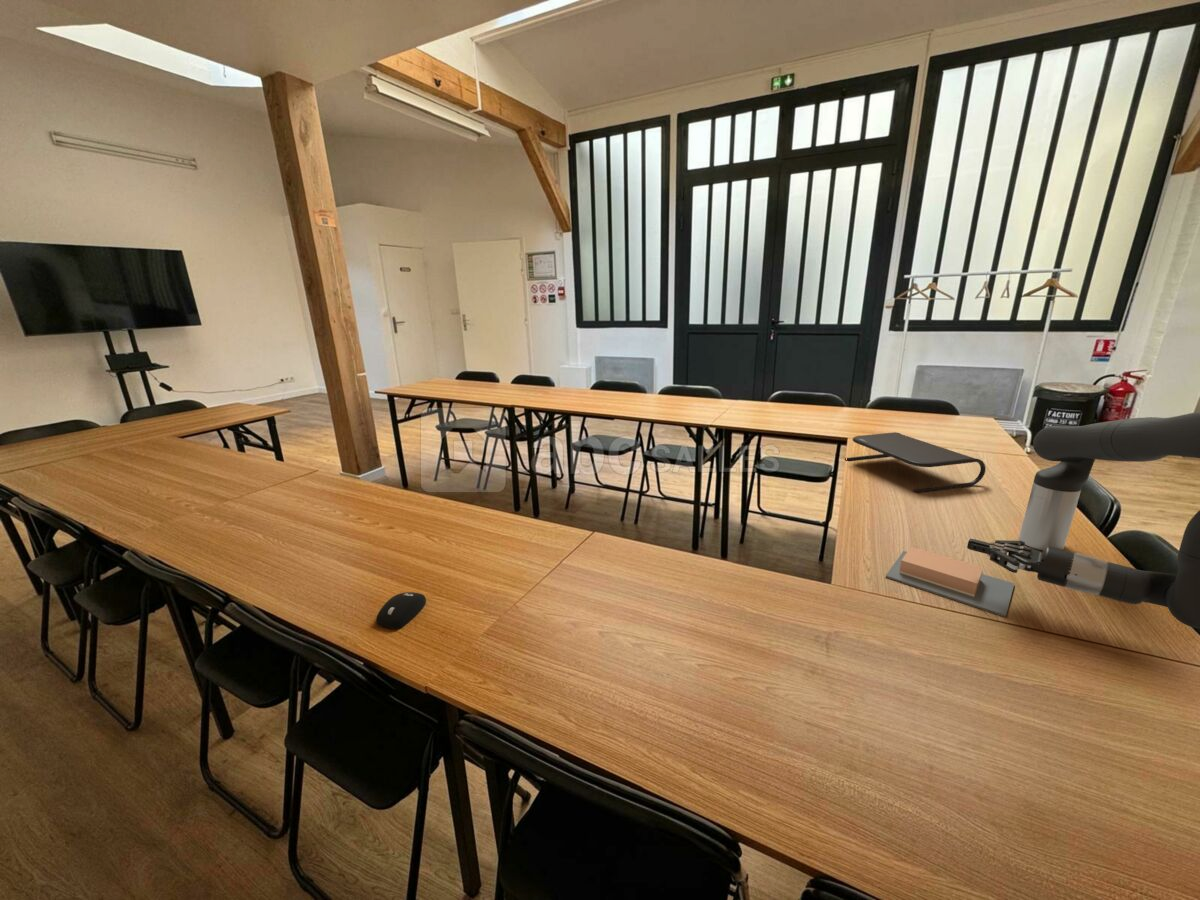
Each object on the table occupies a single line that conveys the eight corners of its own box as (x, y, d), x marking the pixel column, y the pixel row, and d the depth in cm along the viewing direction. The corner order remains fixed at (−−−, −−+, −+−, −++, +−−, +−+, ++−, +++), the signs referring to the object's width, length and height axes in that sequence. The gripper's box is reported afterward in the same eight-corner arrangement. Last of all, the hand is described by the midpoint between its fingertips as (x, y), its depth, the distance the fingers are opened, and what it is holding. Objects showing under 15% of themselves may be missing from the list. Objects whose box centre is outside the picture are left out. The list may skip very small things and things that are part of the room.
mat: (903, 552, 128) (903, 550, 128) (1014, 585, 112) (1014, 583, 112) (885, 577, 117) (885, 575, 117) (1005, 617, 102) (1006, 615, 101)
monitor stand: (843, 461, 199) (846, 436, 196) (901, 454, 204) (905, 430, 201) (915, 494, 165) (921, 464, 161) (983, 485, 170) (989, 457, 166)
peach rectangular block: (980, 580, 114) (908, 558, 124) (983, 567, 113) (910, 546, 123) (974, 596, 108) (899, 572, 118) (977, 583, 107) (901, 560, 117)
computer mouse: (434, 600, 114) (432, 586, 113) (399, 633, 104) (396, 617, 102) (408, 595, 117) (406, 581, 116) (372, 626, 106) (369, 611, 105)
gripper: (1077, 542, 102) (976, 519, 113) (1075, 567, 93) (966, 539, 104) (1067, 572, 104) (969, 546, 116) (1065, 600, 95) (959, 569, 107)
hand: (968, 543), depth 110 cm, fingers closed
